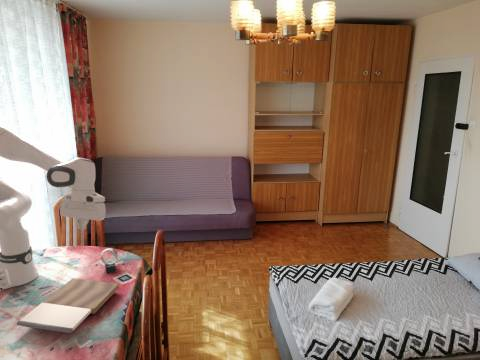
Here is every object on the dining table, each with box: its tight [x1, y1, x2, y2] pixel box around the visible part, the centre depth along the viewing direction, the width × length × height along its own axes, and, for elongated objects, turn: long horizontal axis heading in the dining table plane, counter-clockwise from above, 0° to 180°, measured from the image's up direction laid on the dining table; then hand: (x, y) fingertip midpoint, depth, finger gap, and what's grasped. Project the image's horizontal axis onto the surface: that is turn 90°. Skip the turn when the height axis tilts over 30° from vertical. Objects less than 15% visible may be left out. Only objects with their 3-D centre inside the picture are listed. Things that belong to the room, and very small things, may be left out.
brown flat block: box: [42, 278, 120, 315], centre depth 140 cm, size 22×18×4 cm
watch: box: [100, 247, 119, 274], centre depth 165 cm, size 6×8×11 cm
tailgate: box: [16, 301, 91, 334], centre depth 124 cm, size 21×2×12 cm
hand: (81, 228), depth 143 cm, fingers closed
